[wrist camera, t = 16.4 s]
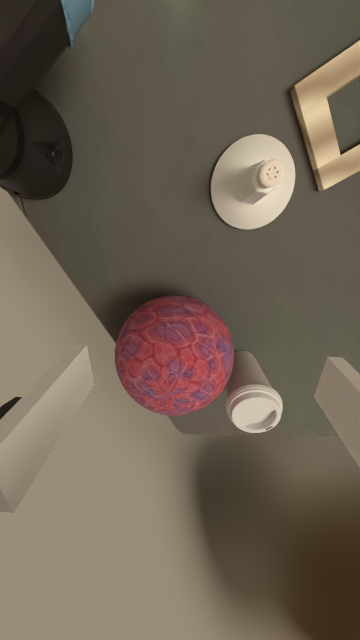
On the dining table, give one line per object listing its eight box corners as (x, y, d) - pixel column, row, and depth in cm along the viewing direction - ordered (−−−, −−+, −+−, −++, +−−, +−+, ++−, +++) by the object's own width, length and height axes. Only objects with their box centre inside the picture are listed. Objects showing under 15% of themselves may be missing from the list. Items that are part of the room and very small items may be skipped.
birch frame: (290, 91, 31) (294, 85, 30) (403, 13, 28) (414, 2, 26) (318, 191, 36) (323, 190, 34) (419, 135, 32) (429, 131, 31)
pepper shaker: (268, 161, 34) (297, 137, 24) (270, 200, 36) (297, 193, 26) (232, 170, 35) (246, 151, 25) (236, 208, 37) (250, 204, 27)
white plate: (196, 168, 36) (196, 167, 35) (276, 115, 32) (278, 113, 32) (230, 243, 40) (231, 243, 39) (303, 203, 37) (306, 202, 36)
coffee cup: (226, 383, 53) (235, 440, 39) (213, 351, 50) (219, 401, 36) (266, 373, 51) (291, 430, 37) (256, 339, 47) (279, 387, 34)
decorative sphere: (163, 377, 54) (145, 458, 36) (115, 309, 47) (63, 365, 29) (241, 345, 48) (267, 421, 30) (199, 263, 42) (200, 297, 24)
